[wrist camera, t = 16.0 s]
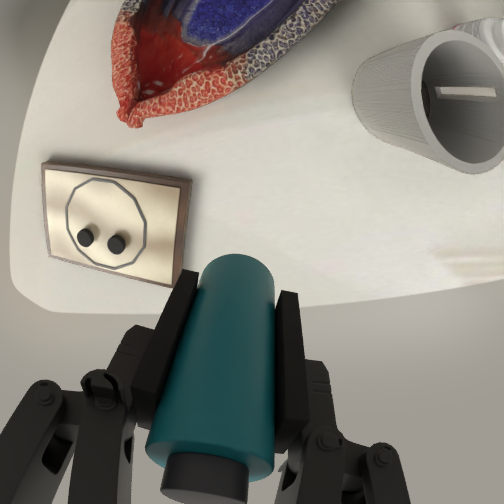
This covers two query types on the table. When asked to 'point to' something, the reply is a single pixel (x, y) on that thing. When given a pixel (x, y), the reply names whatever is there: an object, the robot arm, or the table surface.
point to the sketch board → (117, 219)
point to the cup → (435, 100)
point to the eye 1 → (85, 237)
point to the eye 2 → (116, 244)
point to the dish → (199, 49)
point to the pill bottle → (487, 33)
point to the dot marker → (220, 389)
